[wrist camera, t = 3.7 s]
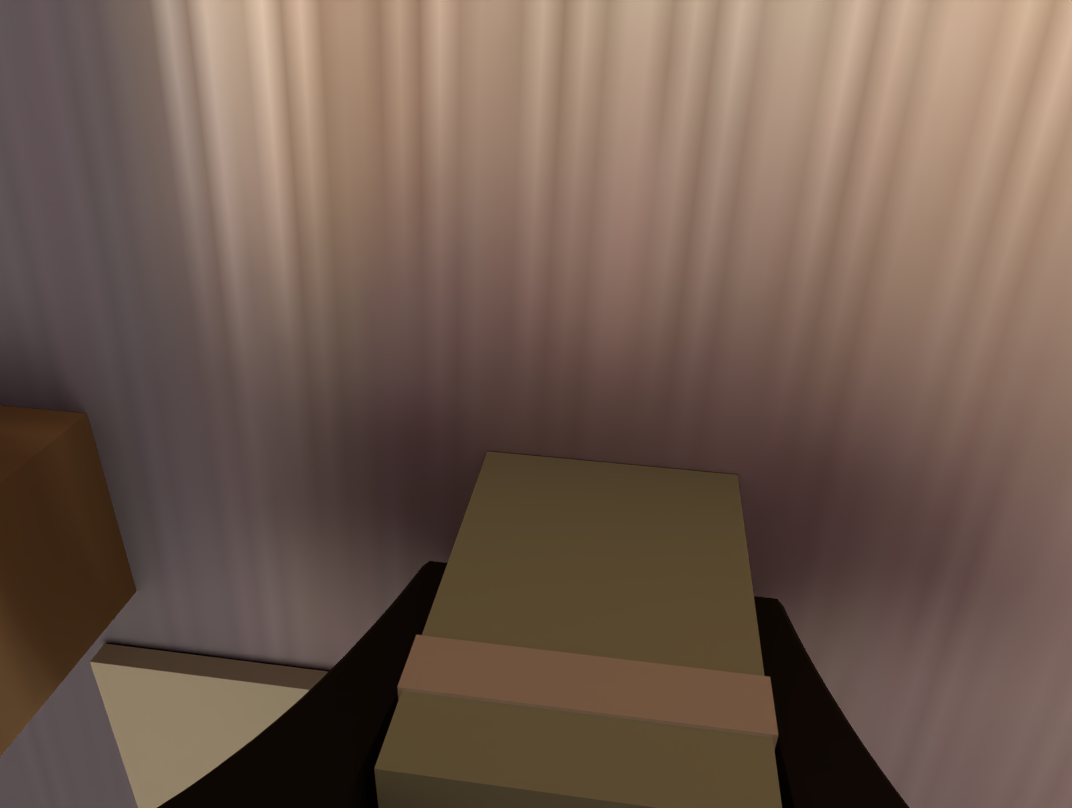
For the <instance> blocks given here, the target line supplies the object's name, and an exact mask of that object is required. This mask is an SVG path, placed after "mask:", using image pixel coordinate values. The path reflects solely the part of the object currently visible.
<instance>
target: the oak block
mask: <svg viewBox="0 0 1072 808" xmlns="http://www.w3.org/2000/svg"><path fill="white" fill-rule="evenodd" d="M135 592H136V588H135V585H134V581H133V578H132V574H131V570H130V567H129V563H128V560H127V556H126V552H125V549H124V545H123V542H122V538H121V534H120V531H119V527H118V524H117V520H116V516H115V513H114V509H113V506H112V502H111V498H110V495H109V491H108V488H107V484H106V480H105V477H104V473H103V470H102V466H101V462H100V459H99V455H98V452H97V448H96V444H95V441H94V437H93V434H92V430H91V426H90V423H89V419H88V416H87V413H77V412H66V411H55V410H44V409H33V408H23V407H12V406H1V405H0V756H1V755H2V754H3V753H4V751H5V750H6V749H7V748H8V746H9V745H10V744H11V743H12V742H13V740H14V739H15V738H16V737H17V736H18V734H19V733H20V732H21V731H22V729H23V728H24V727H25V726H26V725H27V723H28V722H29V721H30V720H31V719H32V717H33V716H34V715H35V714H36V712H37V711H38V710H39V709H40V708H41V706H42V705H43V704H44V703H45V702H46V700H47V699H48V698H49V697H50V696H51V694H52V693H53V692H54V691H55V689H56V688H57V687H58V686H59V685H60V683H61V682H62V681H63V680H64V679H65V677H66V676H67V675H68V674H69V672H70V671H71V670H72V669H73V668H74V666H75V665H76V664H77V663H78V662H79V660H80V659H81V658H82V657H83V655H84V654H85V653H86V652H87V651H88V649H89V648H90V647H91V646H92V645H93V643H94V642H95V641H96V640H97V638H98V637H99V636H100V635H101V634H102V632H103V631H104V630H105V629H106V628H107V626H108V625H109V624H110V623H111V621H112V620H113V619H114V618H115V617H116V615H117V614H118V613H119V612H120V611H121V609H122V608H123V607H124V606H125V604H126V603H127V602H128V601H129V600H130V598H131V597H132V596H133V595H134V594H135Z"/></svg>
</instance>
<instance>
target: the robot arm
mask: <svg viewBox="0 0 1072 808" xmlns="http://www.w3.org/2000/svg"><path fill="white" fill-rule="evenodd" d="M446 566H447V563H442V562H433V561H429V562H428V563H426V564H425V565H424V566H422V568H421V569H420V570H419V571H418V573H417V574H416V575H415V577H414V578H413V579H412V580H411V582H410V583H409V584H408V585H407V587H406V588H405V589H404V590H403V591H402V593H401V594H400V595H399V596H398V597H397V599H396V600H395V601H394V602H393V603H392V604H391V606H390V607H389V608H388V609H387V610H386V611H385V613H384V614H383V615H382V616H381V617H380V618H379V619H378V621H377V622H376V623H375V624H374V625H373V626H372V627H371V628H370V629H369V630H368V631H367V633H366V634H365V635H364V636H363V637H362V638H361V639H360V640H359V641H358V642H357V643H356V644H355V646H354V647H353V648H352V649H351V650H350V651H349V652H348V653H347V654H346V655H345V656H344V657H343V658H342V659H341V660H340V661H339V662H338V663H337V664H336V665H335V666H334V667H333V668H332V669H331V670H330V671H329V672H328V673H327V674H326V675H325V676H324V677H323V678H322V679H321V680H320V681H319V682H318V683H317V684H315V685H314V686H313V687H312V688H311V689H310V690H309V691H308V692H307V693H306V694H305V695H304V696H303V697H302V698H301V699H300V700H298V701H297V702H296V703H295V704H294V705H293V706H292V707H291V708H290V709H288V710H287V711H286V712H285V713H284V714H283V715H282V716H280V717H279V718H278V719H277V720H276V721H275V722H273V723H272V724H271V725H270V726H268V727H267V728H266V729H265V730H264V731H262V732H261V733H260V734H259V735H258V736H256V737H255V738H254V739H253V740H251V741H250V742H249V743H248V744H246V745H245V746H244V747H242V748H241V749H240V750H238V751H237V752H236V753H234V754H233V755H232V756H230V757H229V758H228V759H226V760H225V761H224V762H222V763H221V764H220V765H219V766H217V767H216V768H215V769H213V770H212V771H211V772H209V773H208V774H206V775H205V776H204V777H202V778H201V779H199V780H198V781H196V782H195V783H194V784H192V785H191V786H189V787H188V788H186V789H185V790H183V791H182V792H180V793H179V794H177V795H176V796H174V797H173V798H171V799H169V800H168V801H166V802H165V803H163V804H162V805H160V806H159V807H157V808H378V799H377V790H376V781H375V772H374V768H375V765H376V762H377V759H378V757H379V754H380V751H381V748H382V745H383V743H384V740H385V737H386V734H387V731H388V729H389V726H390V723H391V720H392V717H393V715H394V712H395V709H396V706H397V703H398V689H397V686H398V684H399V681H400V678H401V675H402V673H403V670H404V667H405V664H406V662H407V659H408V656H409V654H410V651H411V648H412V645H413V643H414V640H415V637H416V635H422V633H423V630H424V628H425V625H426V622H427V619H428V616H429V614H430V611H431V608H432V605H433V602H434V600H435V597H436V594H437V591H438V588H439V586H440V583H441V580H442V577H443V574H444V571H445V569H446ZM754 601H755V609H756V616H757V623H758V631H759V638H760V646H761V653H762V661H763V668H764V676H768V677H770V679H771V686H772V693H773V700H774V707H775V714H776V721H777V728H778V739H777V743H776V747H775V758H776V765H777V773H778V780H779V788H780V795H781V803H782V808H909V807H908V805H907V804H906V803H905V801H904V800H903V799H902V797H901V796H900V795H899V793H898V792H897V791H896V790H895V788H894V787H893V785H892V784H891V783H890V781H889V780H888V779H887V777H886V776H885V775H884V773H883V772H882V770H881V769H880V768H879V766H878V765H877V763H876V762H875V760H874V759H873V758H872V756H871V755H870V753H869V752H868V750H867V749H866V748H865V746H864V745H863V743H862V742H861V740H860V739H859V737H858V736H857V734H856V733H855V731H854V730H853V728H852V727H851V725H850V724H849V722H848V721H847V719H846V717H845V716H844V714H843V713H842V711H841V709H840V708H839V706H838V704H837V703H836V701H835V700H834V698H833V696H832V695H831V693H830V692H829V690H828V688H827V687H826V685H825V683H824V682H823V680H822V678H821V677H820V675H819V673H818V671H817V670H816V668H815V666H814V664H813V663H812V661H811V659H810V657H809V655H808V654H807V652H806V650H805V648H804V646H803V644H802V643H801V641H800V639H799V637H798V635H797V633H796V631H795V629H794V627H793V625H792V623H791V621H790V619H789V617H788V615H787V613H786V611H785V609H784V607H783V605H782V604H781V603H780V602H779V601H778V599H773V598H764V597H755V596H754Z"/></svg>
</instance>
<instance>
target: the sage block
mask: <svg viewBox="0 0 1072 808" xmlns="http://www.w3.org/2000/svg"><path fill="white" fill-rule="evenodd" d="M397 689H398V703H397V706H396V709H395V712H394V715H393V717H392V720H391V723H390V726H389V729H388V731H387V734H386V737H385V740H384V743H383V745H382V748H381V751H380V754H379V757H378V759H377V762H376V765H375V768H374V772H375V781H376V790H377V799H378V808H782V803H781V795H780V788H779V780H778V773H777V765H776V758H775V747H776V743H777V739H778V728H777V721H776V714H775V707H774V700H773V693H772V686H771V679H770V677H768V676H764V668H763V661H762V653H761V646H760V638H759V631H758V623H757V616H756V609H755V601H754V594H753V586H752V579H751V571H750V564H749V556H748V549H747V541H746V534H745V526H744V519H743V511H742V504H741V496H740V489H739V482H738V475H734V474H724V473H713V472H702V471H692V470H681V469H670V468H659V467H649V466H638V465H627V464H617V463H606V462H595V461H585V460H574V459H563V458H552V457H542V456H531V455H520V454H510V453H499V452H488V451H487V454H486V456H485V459H484V462H483V465H482V468H481V470H480V473H479V476H478V479H477V482H476V485H475V487H474V490H473V493H472V496H471V499H470V501H469V504H468V507H467V510H466V513H465V515H464V518H463V521H462V524H461V527H460V529H459V532H458V535H457V538H456V541H455V543H454V546H453V549H452V552H451V555H450V557H449V560H448V563H447V566H446V569H445V571H444V574H443V577H442V580H441V583H440V586H439V588H438V591H437V594H436V597H435V600H434V602H433V605H432V608H431V611H430V614H429V616H428V619H427V622H426V625H425V628H424V630H423V633H422V635H416V637H415V640H414V643H413V645H412V648H411V651H410V654H409V656H408V659H407V662H406V664H405V667H404V670H403V673H402V675H401V678H400V681H399V684H398V686H397Z"/></svg>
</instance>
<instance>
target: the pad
mask: <svg viewBox="0 0 1072 808" xmlns="http://www.w3.org/2000/svg"><path fill="white" fill-rule="evenodd" d="M90 663H91V666H92V669H93V672H94V675H95V678H96V682H97V685H98V688H99V691H100V694H101V697H102V700H103V703H104V706H105V709H106V712H107V715H108V718H109V721H110V724H111V727H112V730H113V733H114V736H115V739H116V742H117V745H118V748H119V751H120V754H121V757H122V760H123V763H124V766H125V769H126V772H127V775H128V778H129V781H130V784H131V787H132V790H133V793H134V796H135V799H136V802H137V805H138V808H157V807H159V806H160V805H162V804H163V803H165V802H166V801H168V800H169V799H171V798H173V797H174V796H176V795H177V794H179V793H180V792H182V791H183V790H185V789H186V788H188V787H189V786H191V785H192V784H194V783H195V782H196V781H198V780H199V779H201V778H202V777H204V776H205V775H206V774H208V773H209V772H211V771H212V770H213V769H215V768H216V767H217V766H219V765H220V764H221V763H222V762H224V761H225V760H226V759H228V758H229V757H230V756H232V755H233V754H234V753H236V752H237V751H238V750H240V749H241V748H242V747H244V746H245V745H246V744H248V743H249V742H250V741H251V740H253V739H254V738H255V737H256V736H258V735H259V734H260V733H261V732H262V731H264V730H265V729H266V728H267V727H268V726H270V725H271V724H272V723H273V722H275V721H276V720H277V719H278V718H279V717H280V716H282V715H283V714H284V713H285V712H286V711H287V710H288V709H290V708H291V707H292V706H293V705H294V704H295V703H296V702H297V701H298V700H300V699H301V698H302V697H303V696H304V695H305V694H306V693H307V692H308V691H309V690H310V689H311V688H312V687H313V686H314V685H315V684H317V683H318V682H319V681H320V680H321V679H322V678H323V677H324V676H325V675H326V674H327V673H328V671H320V670H312V669H304V668H296V667H288V666H280V665H272V664H264V663H256V662H248V661H240V660H232V659H224V658H216V657H208V656H200V655H192V654H184V653H176V652H168V651H160V650H152V649H144V648H136V647H128V646H120V645H112V644H104V645H103V646H102V648H101V649H100V650H99V651H98V653H97V654H96V655H95V656H94V657H93V659H92V660H91V661H90Z"/></svg>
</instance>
